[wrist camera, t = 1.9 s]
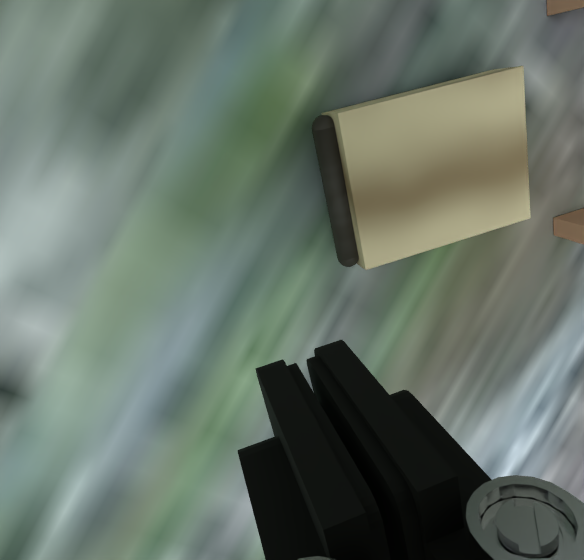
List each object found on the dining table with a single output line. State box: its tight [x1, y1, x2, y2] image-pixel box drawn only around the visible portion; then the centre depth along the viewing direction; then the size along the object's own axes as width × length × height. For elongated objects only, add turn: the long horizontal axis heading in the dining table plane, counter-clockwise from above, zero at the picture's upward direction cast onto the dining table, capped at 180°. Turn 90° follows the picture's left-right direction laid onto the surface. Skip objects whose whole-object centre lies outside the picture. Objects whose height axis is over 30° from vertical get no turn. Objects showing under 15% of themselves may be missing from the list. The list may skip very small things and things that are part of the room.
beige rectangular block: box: [312, 66, 530, 270], centre depth 27 cm, size 8×11×4 cm
